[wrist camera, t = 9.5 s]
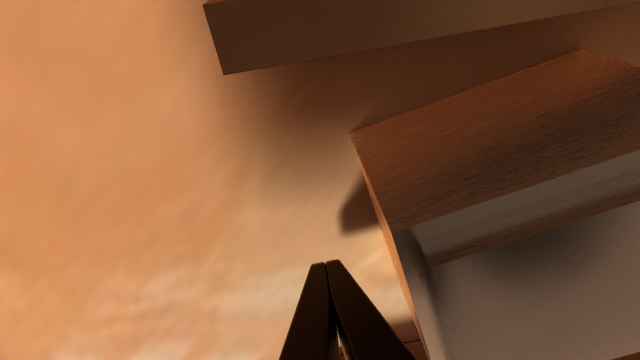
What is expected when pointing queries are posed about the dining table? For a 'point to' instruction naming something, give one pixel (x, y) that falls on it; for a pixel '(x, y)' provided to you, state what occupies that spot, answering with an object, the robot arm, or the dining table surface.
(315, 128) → the dining table surface
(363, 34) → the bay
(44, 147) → the dining table surface
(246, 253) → the dining table surface
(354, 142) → the light grey small box
